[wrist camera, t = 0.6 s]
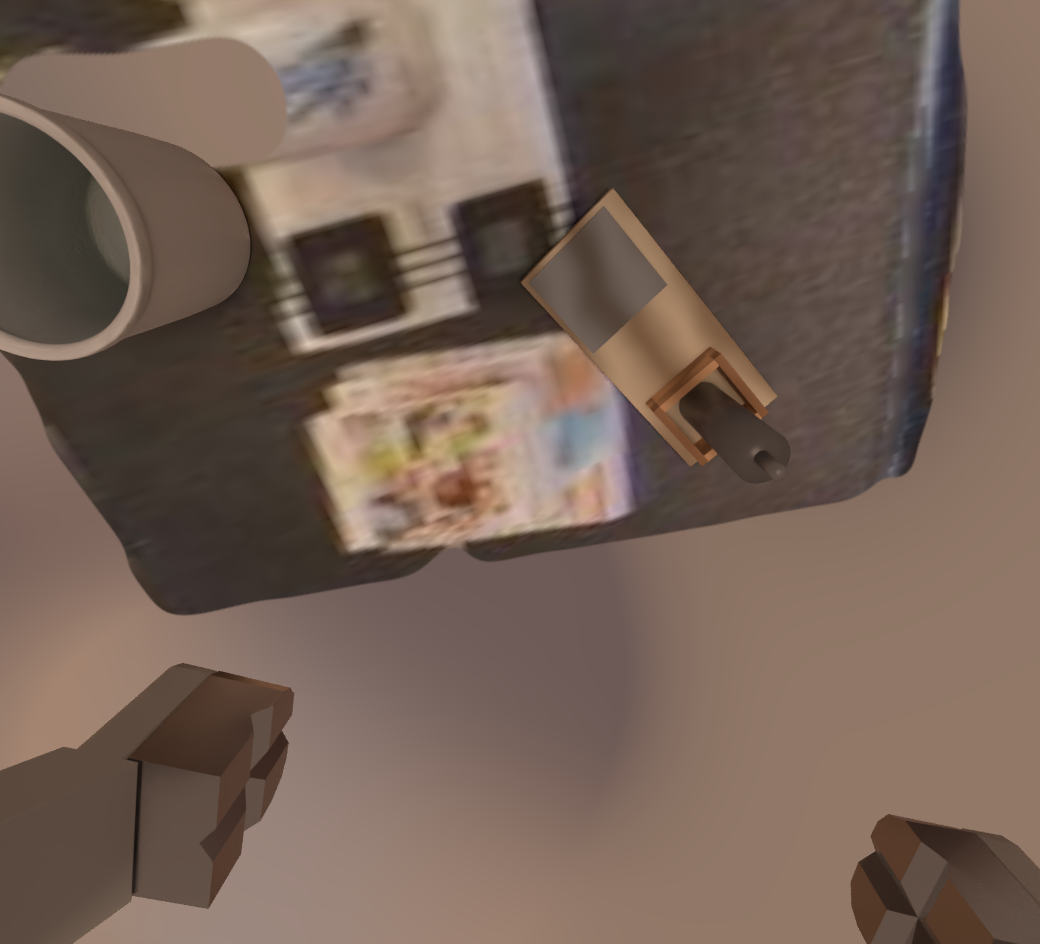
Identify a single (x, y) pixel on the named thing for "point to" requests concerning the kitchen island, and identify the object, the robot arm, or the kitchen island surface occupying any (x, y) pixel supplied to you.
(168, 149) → the utensil holder
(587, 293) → the cable board
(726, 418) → the plug
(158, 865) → the robot arm
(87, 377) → the kitchen island surface
